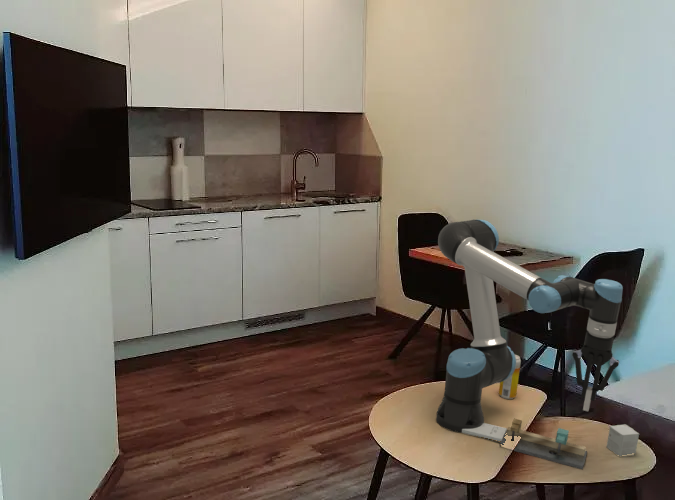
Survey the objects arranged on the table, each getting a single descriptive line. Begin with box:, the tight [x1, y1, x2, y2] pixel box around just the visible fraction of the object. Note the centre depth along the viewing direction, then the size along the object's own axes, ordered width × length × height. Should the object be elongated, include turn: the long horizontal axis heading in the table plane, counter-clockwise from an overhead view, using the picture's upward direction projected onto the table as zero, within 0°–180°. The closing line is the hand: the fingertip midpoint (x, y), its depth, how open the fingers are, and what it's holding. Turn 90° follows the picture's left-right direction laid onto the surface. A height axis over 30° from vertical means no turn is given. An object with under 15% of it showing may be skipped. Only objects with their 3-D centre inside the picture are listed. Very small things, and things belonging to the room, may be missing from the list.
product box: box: [606, 423, 640, 456], centre depth 209 cm, size 6×6×7 cm
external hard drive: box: [461, 422, 508, 442], centre depth 215 cm, size 2×8×12 cm
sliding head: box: [555, 427, 570, 453], centre depth 205 cm, size 3×6×5 cm, turn 154°
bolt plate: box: [499, 431, 588, 470], centre depth 207 cm, size 24×10×1 cm, turn 64°
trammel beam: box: [506, 418, 587, 456], centre depth 207 cm, size 23×6×5 cm, turn 64°
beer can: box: [498, 353, 522, 400], centre depth 242 cm, size 6×6×15 cm
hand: (586, 408), depth 202 cm, fingers closed
